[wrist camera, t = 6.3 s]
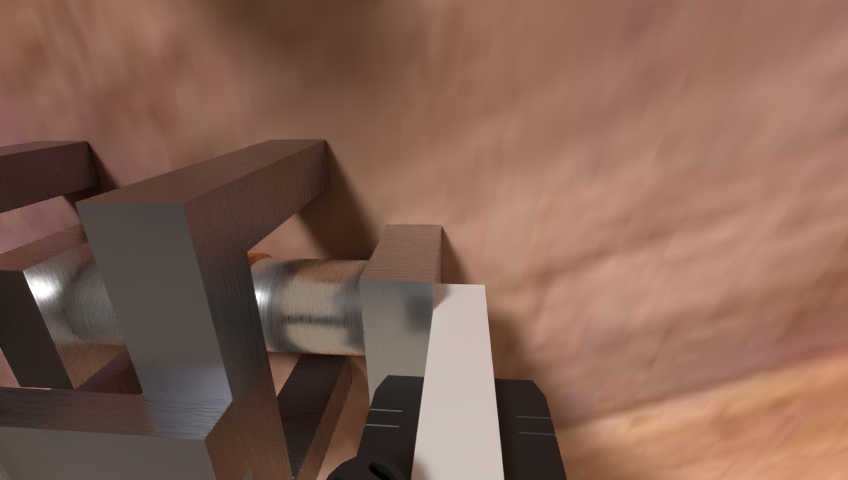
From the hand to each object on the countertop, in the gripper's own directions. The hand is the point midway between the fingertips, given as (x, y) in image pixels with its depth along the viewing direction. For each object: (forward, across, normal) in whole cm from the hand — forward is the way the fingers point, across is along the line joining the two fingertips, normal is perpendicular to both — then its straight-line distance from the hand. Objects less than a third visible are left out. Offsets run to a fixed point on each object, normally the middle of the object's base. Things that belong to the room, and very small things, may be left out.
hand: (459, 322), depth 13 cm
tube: (+3, -8, 0) cm, 8 cm away
